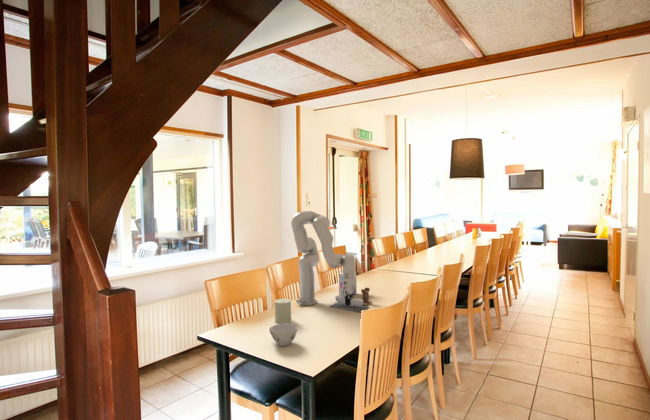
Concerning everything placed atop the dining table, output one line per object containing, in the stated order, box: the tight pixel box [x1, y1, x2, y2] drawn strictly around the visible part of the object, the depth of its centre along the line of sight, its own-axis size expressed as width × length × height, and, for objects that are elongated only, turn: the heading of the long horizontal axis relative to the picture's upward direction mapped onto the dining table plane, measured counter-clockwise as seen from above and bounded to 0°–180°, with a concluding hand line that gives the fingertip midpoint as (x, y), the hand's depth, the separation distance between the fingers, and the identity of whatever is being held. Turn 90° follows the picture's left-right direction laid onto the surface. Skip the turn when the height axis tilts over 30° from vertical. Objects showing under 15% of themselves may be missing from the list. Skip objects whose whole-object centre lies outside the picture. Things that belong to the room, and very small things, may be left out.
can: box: [274, 298, 292, 325], centre depth 203 cm, size 9×9×12 cm
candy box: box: [338, 270, 357, 296], centre depth 252 cm, size 14×6×16 cm, turn 143°
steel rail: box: [335, 294, 363, 305], centre depth 225 cm, size 3×18×3 cm, turn 57°
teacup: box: [269, 323, 298, 347], centre depth 172 cm, size 15×12×8 cm
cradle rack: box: [347, 287, 373, 307], centre depth 235 cm, size 8×17×10 cm, turn 57°
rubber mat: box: [329, 301, 370, 314], centre depth 226 cm, size 11×22×1 cm, turn 57°
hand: (349, 303), depth 226 cm, fingers closed on steel rail, 3 cm apart
